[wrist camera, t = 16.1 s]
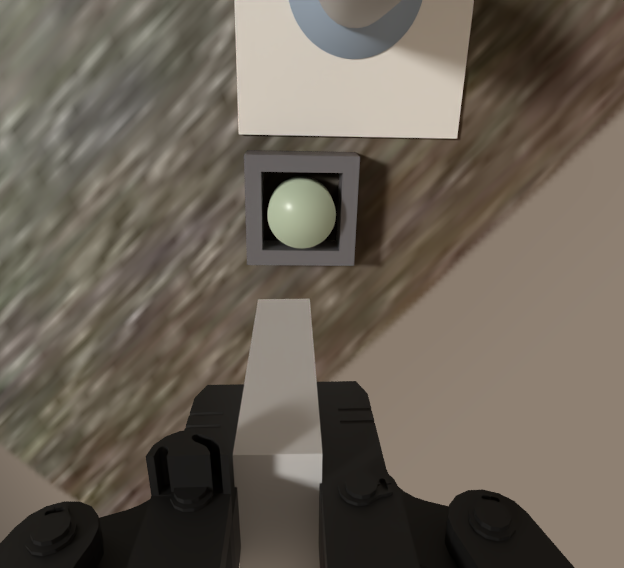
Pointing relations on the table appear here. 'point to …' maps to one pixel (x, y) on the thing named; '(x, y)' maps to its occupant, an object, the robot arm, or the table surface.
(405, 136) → the paper sheet
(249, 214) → the button housing
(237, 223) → the table surface
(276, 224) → the button
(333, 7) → the beverage can
